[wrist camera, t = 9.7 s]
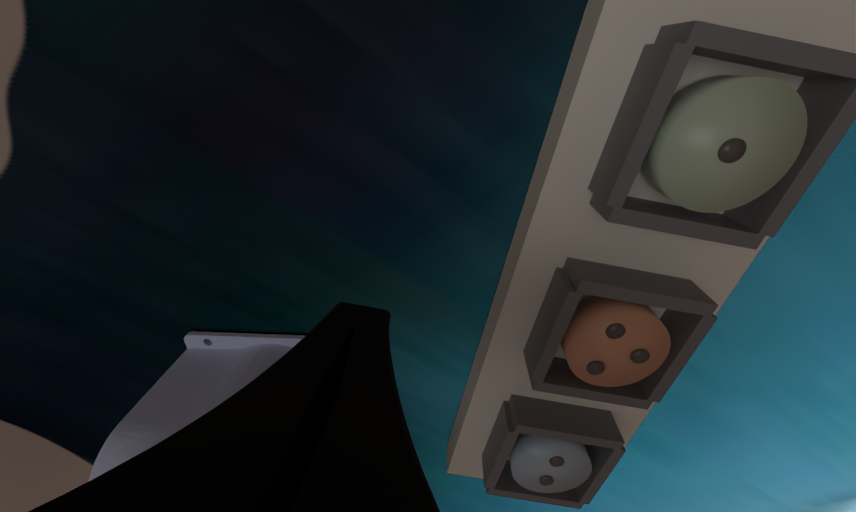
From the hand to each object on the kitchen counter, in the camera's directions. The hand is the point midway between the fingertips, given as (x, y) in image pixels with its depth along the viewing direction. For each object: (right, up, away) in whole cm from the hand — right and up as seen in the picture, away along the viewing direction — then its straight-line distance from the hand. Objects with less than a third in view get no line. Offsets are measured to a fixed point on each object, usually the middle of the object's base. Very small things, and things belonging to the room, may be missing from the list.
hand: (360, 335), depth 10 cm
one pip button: (+12, +6, +4) cm, 14 cm away
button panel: (+11, 0, +10) cm, 15 cm away
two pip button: (+9, -9, +12) cm, 18 cm away
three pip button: (+10, -1, +8) cm, 13 cm away
